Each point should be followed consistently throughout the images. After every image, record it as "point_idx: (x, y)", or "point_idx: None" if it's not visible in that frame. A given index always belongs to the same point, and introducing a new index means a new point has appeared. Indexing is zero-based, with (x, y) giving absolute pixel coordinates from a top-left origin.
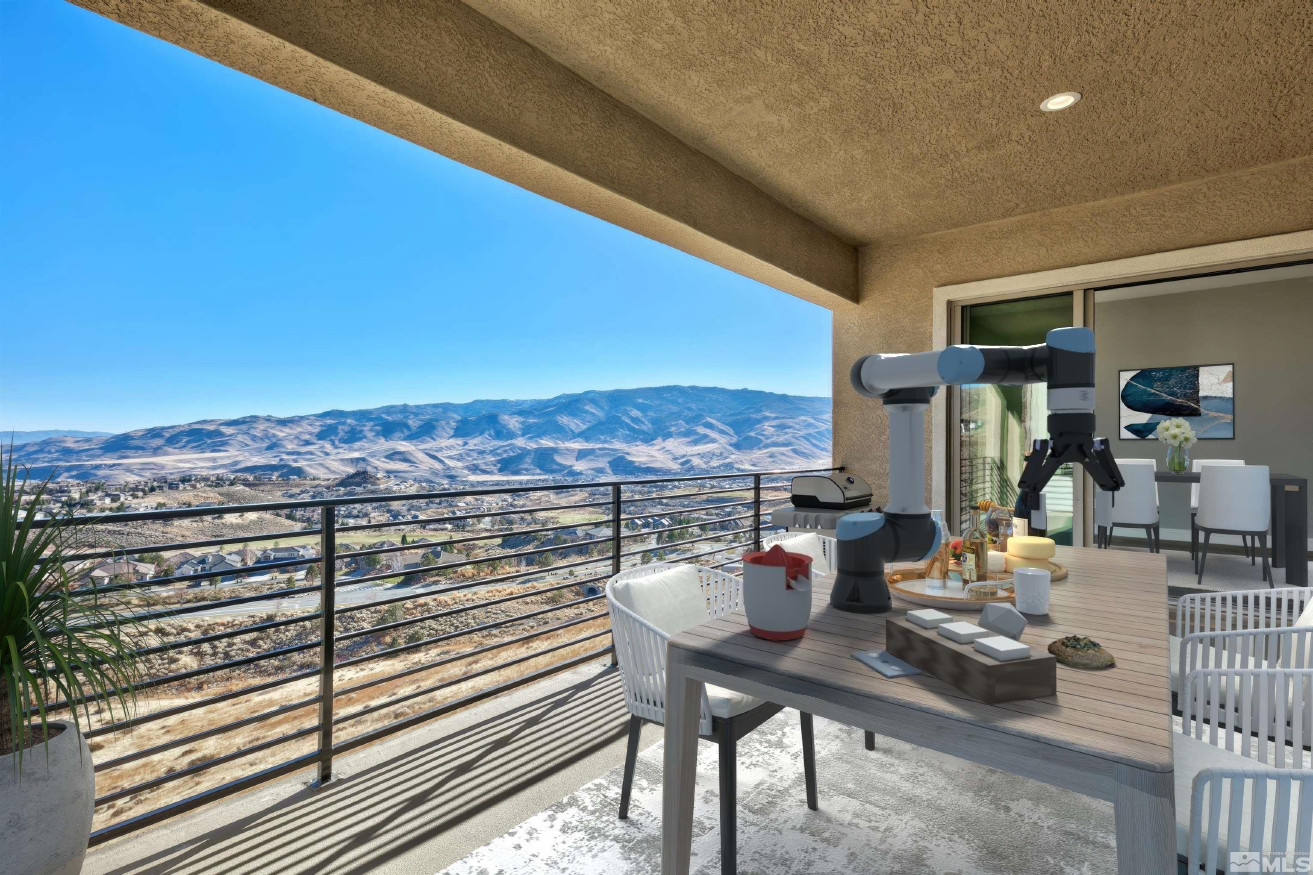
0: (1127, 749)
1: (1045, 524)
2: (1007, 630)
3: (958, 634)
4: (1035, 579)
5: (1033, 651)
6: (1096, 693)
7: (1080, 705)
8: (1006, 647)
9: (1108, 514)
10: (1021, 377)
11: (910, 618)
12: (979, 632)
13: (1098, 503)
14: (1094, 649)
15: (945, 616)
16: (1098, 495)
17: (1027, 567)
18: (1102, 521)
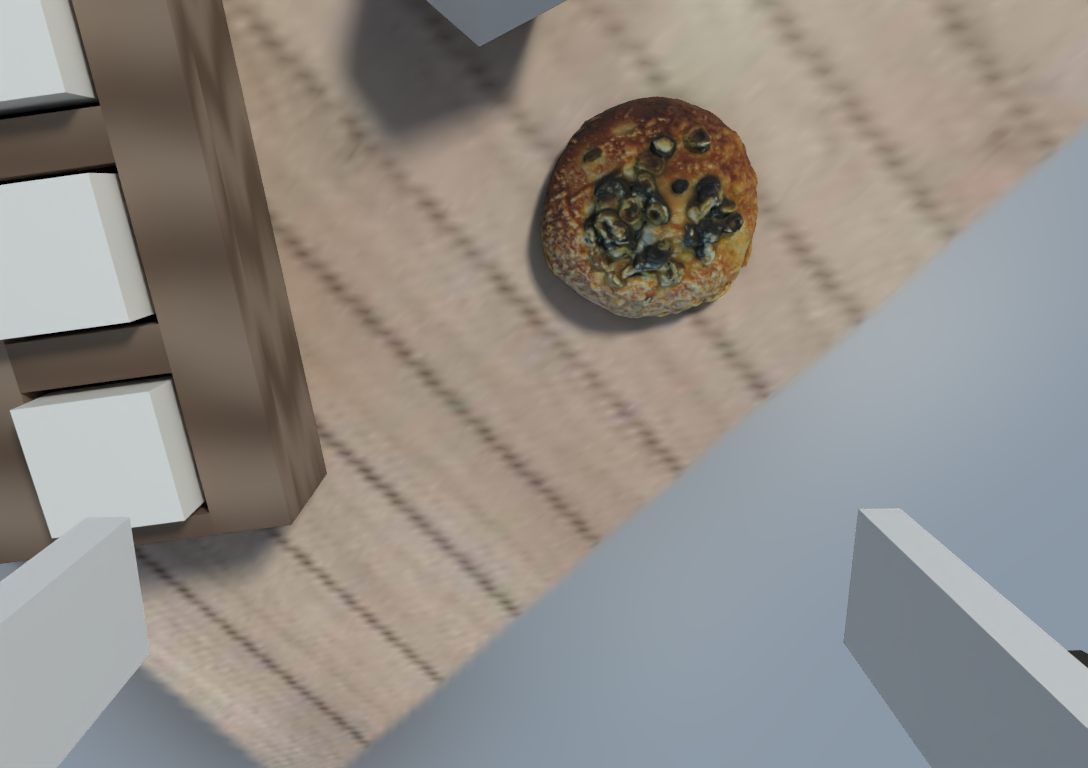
0: (276, 748)
1: (120, 681)
2: (453, 23)
3: None
4: None
5: (239, 471)
6: (452, 485)
7: (341, 546)
8: (91, 510)
9: (902, 725)
10: None
11: None
12: (82, 328)
13: (988, 678)
14: (661, 280)
15: (31, 76)
16: (1072, 765)
17: None
18: (869, 601)
